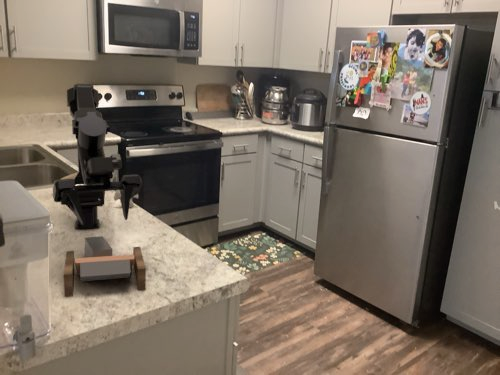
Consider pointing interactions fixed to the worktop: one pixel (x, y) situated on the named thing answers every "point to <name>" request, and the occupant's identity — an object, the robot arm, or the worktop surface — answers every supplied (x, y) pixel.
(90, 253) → the gray rectangular block
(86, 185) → the robot arm
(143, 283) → the brown bracket
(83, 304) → the worktop surface
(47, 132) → the worktop surface
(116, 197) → the arrowhead
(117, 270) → the trapdoor
